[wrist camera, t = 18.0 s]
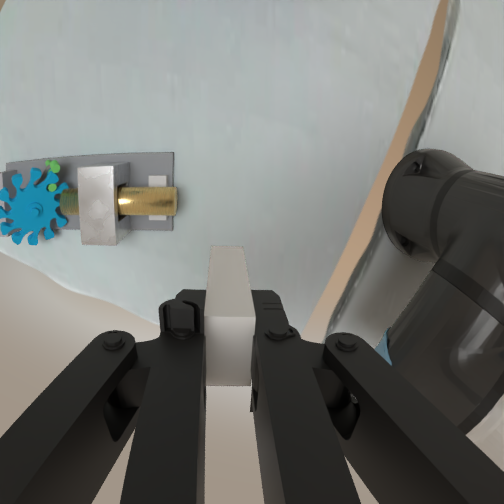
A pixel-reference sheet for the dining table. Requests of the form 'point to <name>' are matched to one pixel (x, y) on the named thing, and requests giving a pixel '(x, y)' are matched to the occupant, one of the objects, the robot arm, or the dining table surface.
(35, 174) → the gear
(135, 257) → the dining table surface
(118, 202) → the shaft
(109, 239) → the bearing block
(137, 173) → the housing
